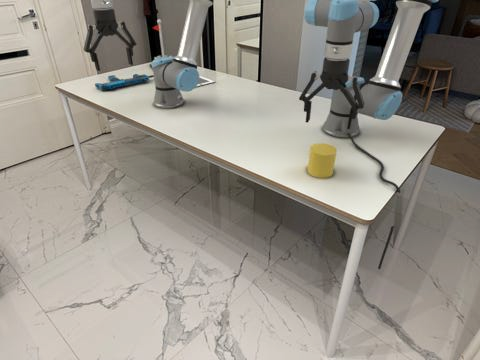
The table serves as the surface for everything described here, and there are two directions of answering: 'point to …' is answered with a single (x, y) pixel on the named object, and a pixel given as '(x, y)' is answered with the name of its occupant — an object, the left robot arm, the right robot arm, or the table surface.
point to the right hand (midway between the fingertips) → (327, 124)
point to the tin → (321, 160)
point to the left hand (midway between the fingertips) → (115, 67)
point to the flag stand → (158, 27)
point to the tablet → (204, 81)
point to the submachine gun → (122, 81)
